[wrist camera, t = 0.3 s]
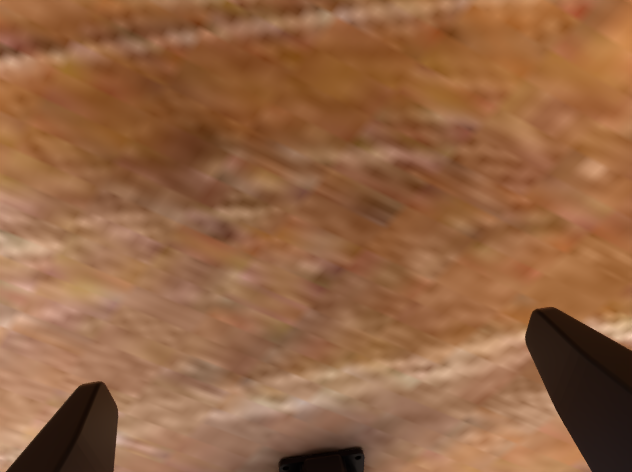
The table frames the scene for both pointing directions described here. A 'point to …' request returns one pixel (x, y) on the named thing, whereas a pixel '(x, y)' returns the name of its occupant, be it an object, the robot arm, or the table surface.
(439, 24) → the table surface
